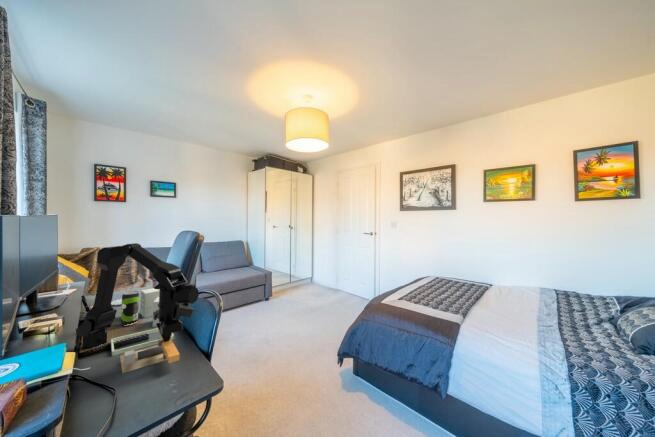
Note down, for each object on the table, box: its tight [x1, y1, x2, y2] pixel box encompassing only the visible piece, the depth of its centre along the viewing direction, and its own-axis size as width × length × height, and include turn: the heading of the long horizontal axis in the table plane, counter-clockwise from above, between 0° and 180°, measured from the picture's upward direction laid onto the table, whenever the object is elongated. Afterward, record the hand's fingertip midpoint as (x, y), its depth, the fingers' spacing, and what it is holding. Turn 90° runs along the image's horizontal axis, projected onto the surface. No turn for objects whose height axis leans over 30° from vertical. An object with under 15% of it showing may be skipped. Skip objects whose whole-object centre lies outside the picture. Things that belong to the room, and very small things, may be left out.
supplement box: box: [139, 287, 160, 319], centre depth 126 cm, size 7×7×13 cm
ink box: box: [152, 297, 159, 328], centre depth 117 cm, size 8×5×12 cm, turn 25°
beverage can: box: [120, 290, 140, 326], centre depth 114 cm, size 6×6×15 cm
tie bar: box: [162, 340, 181, 364], centre depth 85 cm, size 3×12×2 cm, turn 43°
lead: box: [123, 345, 163, 365], centre depth 88 cm, size 14×3×3 cm, turn 133°
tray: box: [110, 327, 175, 357], centre depth 98 cm, size 19×12×2 cm, turn 133°
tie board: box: [119, 337, 168, 374], centre depth 88 cm, size 16×13×4 cm
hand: (166, 343), depth 90 cm, fingers closed
